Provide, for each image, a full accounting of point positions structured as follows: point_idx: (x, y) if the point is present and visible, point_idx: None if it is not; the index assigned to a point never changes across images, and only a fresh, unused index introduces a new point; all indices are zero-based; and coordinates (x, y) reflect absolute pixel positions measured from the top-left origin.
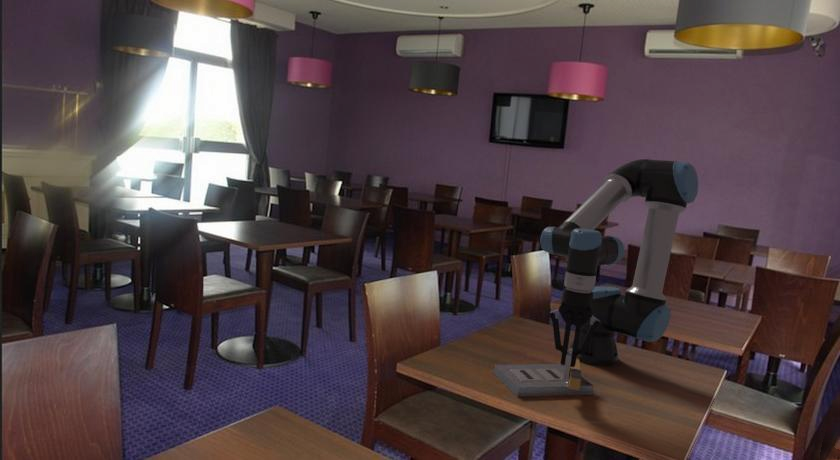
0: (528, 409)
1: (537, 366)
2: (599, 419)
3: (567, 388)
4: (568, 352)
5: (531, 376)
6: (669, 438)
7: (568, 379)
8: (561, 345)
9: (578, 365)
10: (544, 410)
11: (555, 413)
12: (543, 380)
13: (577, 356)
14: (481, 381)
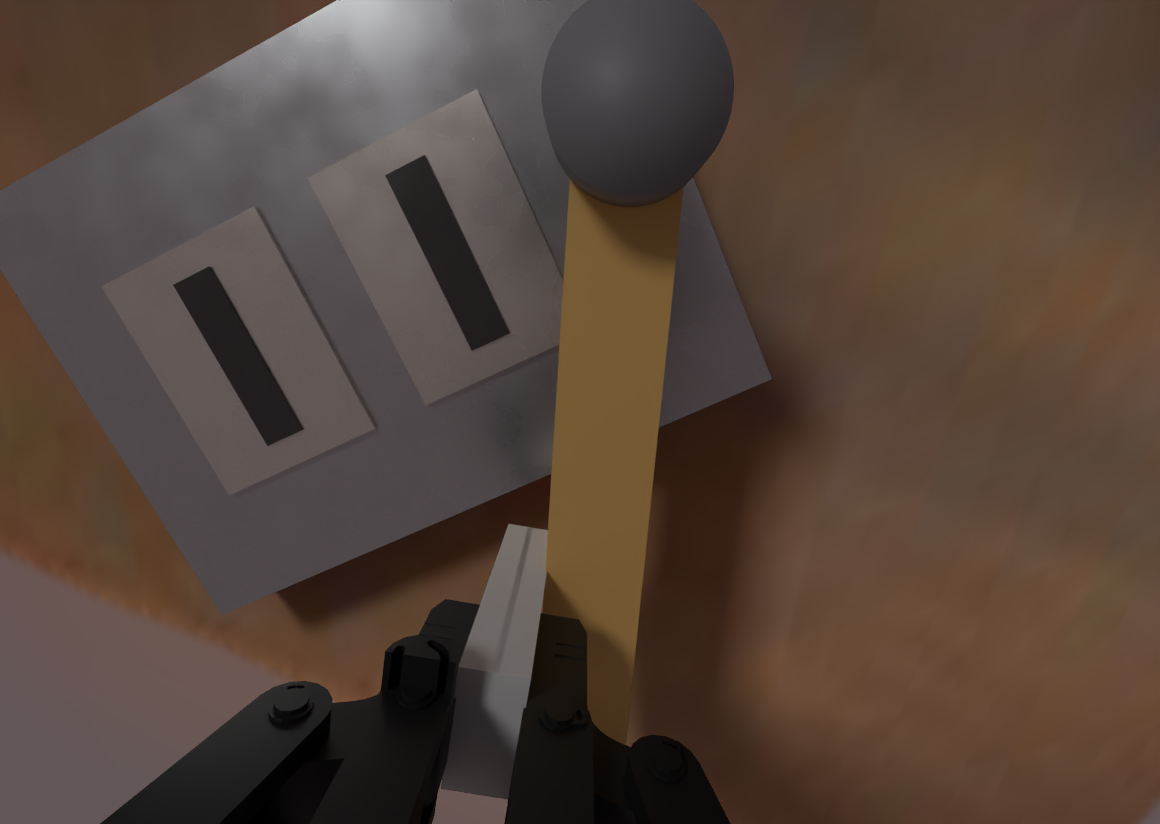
0: None
1: (314, 85)
2: (725, 708)
3: None
4: (473, 688)
5: (283, 386)
6: (1058, 808)
7: None
8: (322, 784)
9: (639, 474)
10: None
11: None
12: (381, 418)
13: (661, 197)
14: (7, 402)
